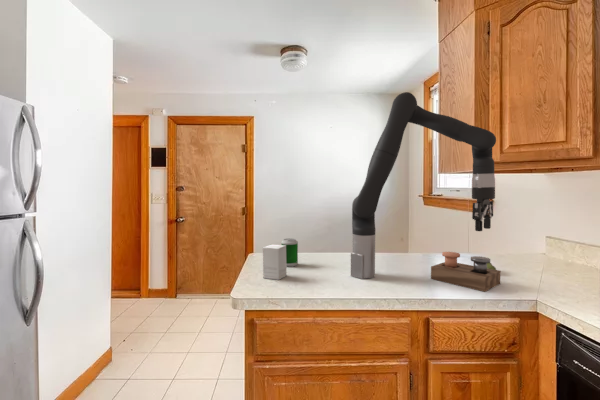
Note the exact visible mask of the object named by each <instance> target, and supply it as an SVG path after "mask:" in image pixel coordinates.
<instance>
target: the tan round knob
mask: <svg viewBox="0 0 600 400" xmlns="http://www.w3.org/2000/svg"><path fill="white" fill-rule="evenodd" d="M441 254H442V257H444V262H445V267H450V268H457V263H458V258H460V257H461V254H460V252H455V251H442V253H441Z"/></svg>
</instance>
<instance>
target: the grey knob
mask: <svg viewBox="0 0 600 400" xmlns="http://www.w3.org/2000/svg"><path fill="white" fill-rule="evenodd" d="M470 261H471V262H473V265H472V266H473V272H475V273H480V274H487V263H491V258H489V257H486V256H470Z"/></svg>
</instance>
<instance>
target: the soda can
mask: <svg viewBox="0 0 600 400" xmlns="http://www.w3.org/2000/svg"><path fill="white" fill-rule="evenodd" d="M280 243H281V244H280V245H286V266H287V267H286V268H288V267H289V268H291V267H292V266H293V267H295V266H297V264H298V263H299V261H298V259H299V258H298V257H299V255H298V253H299V244H298V243H299V242H298V240H297V239H296V238H283V239H282V241H281V242H280ZM293 267H292V268H293Z"/></svg>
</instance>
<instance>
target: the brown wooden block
mask: <svg viewBox="0 0 600 400" xmlns="http://www.w3.org/2000/svg"><path fill="white" fill-rule="evenodd" d="M473 266H474V265H473V264H471V265H470V264H468V263H467V264H466V263H462V262H457V268H450V267H445V261H444V262H441V263H438V264H434V265H432V266H431V267H430V279H431V280H433V281H439V282H442V283H447V284H450V285H456V286H458V287H463V288H467V289H472V290H475V291H480V292H485V293H486V292H487V291H490V290H492V289H493V288H495V287H496V286H499V285H501V274H502V273H501V270H498V269H496V270H493V269H488V268H487V274H480V273H475V272H473Z"/></svg>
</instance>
